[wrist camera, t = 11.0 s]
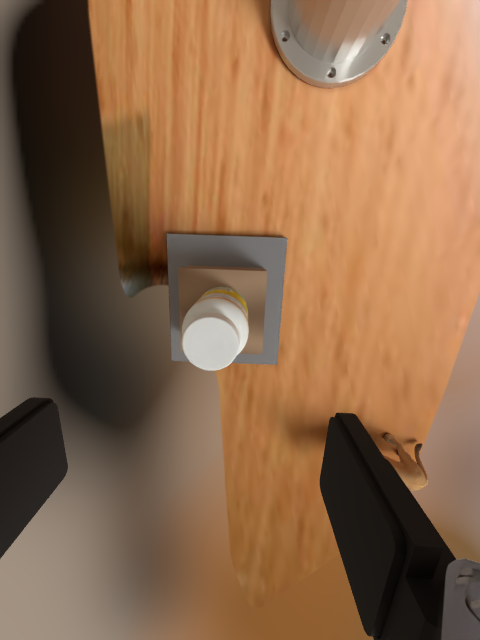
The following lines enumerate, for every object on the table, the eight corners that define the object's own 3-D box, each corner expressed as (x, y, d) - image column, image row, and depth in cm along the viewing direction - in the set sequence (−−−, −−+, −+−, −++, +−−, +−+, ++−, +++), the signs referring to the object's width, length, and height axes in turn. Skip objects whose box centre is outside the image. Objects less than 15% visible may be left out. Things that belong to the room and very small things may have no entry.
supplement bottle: (222, 275, 26) (210, 289, 17) (258, 312, 27) (266, 345, 17) (186, 310, 27) (155, 343, 18) (222, 345, 28) (211, 393, 19)
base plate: (168, 234, 30) (166, 233, 30) (286, 238, 30) (287, 237, 29) (173, 358, 35) (171, 360, 34) (276, 362, 34) (277, 364, 34)
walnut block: (188, 265, 30) (178, 268, 26) (263, 267, 30) (267, 271, 26) (189, 336, 33) (180, 351, 28) (259, 339, 33) (262, 354, 28)
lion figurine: (319, 463, 39) (341, 525, 30) (318, 434, 37) (340, 490, 29) (418, 455, 38) (469, 515, 29) (420, 425, 37) (474, 479, 28)
